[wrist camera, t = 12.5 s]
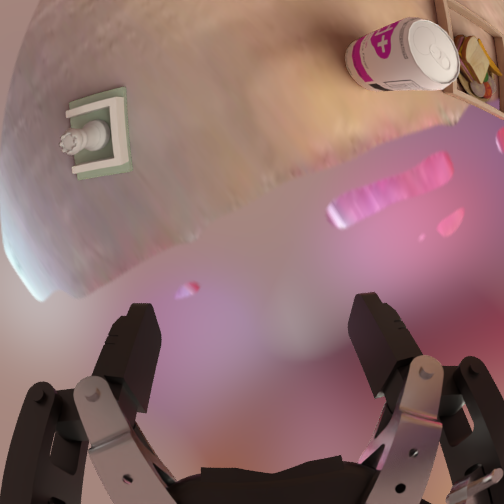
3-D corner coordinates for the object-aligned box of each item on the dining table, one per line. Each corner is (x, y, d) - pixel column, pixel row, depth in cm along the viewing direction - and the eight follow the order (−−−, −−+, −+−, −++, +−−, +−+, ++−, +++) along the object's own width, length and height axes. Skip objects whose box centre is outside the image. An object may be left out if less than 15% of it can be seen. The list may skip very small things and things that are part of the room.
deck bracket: (72, 102, 28) (59, 103, 24) (126, 87, 28) (115, 85, 25) (81, 178, 33) (69, 185, 30) (132, 170, 34) (123, 176, 31)
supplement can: (332, 67, 28) (389, 47, 15) (359, 29, 25) (419, 0, 12) (377, 102, 31) (447, 107, 17) (401, 64, 27) (471, 57, 14)
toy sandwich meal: (475, 114, 30) (493, 118, 26) (436, 54, 26) (454, 52, 22) (496, 80, 26) (512, 82, 22) (460, 24, 21) (477, 21, 17)
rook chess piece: (113, 119, 29) (84, 123, 22) (110, 151, 31) (81, 163, 24) (87, 118, 28) (54, 123, 21) (83, 149, 30) (52, 161, 23)
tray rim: (432, -5, 19) (441, -8, 17) (495, 35, 20) (503, 35, 18) (443, 92, 29) (453, 93, 27) (501, 119, 30) (510, 121, 27)
